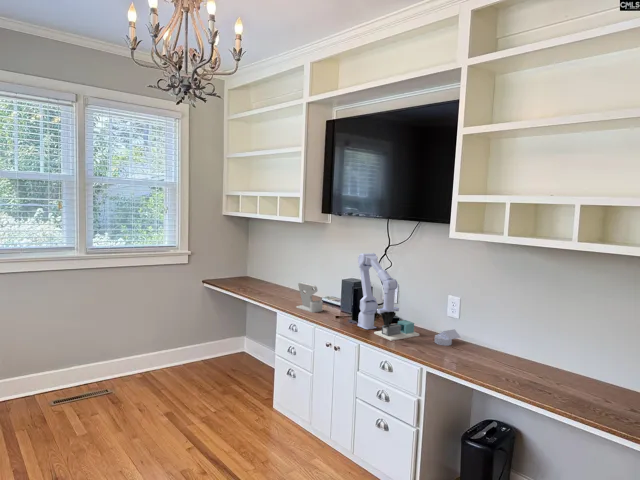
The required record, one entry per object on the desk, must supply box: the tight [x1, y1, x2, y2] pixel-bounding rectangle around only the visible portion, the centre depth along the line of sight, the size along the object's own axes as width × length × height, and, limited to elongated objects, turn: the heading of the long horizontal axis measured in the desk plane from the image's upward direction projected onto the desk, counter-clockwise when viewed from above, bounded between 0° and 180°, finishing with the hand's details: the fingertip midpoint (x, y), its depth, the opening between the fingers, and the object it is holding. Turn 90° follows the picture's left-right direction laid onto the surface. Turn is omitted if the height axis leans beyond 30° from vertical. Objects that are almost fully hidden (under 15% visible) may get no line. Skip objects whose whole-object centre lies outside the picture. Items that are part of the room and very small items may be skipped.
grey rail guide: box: [381, 323, 401, 336], centre depth 250 cm, size 5×10×5 cm, turn 124°
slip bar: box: [383, 321, 389, 334], centre depth 250 cm, size 3×10×7 cm, turn 124°
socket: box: [397, 319, 415, 334], centre depth 257 cm, size 7×6×6 cm
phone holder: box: [295, 281, 324, 313], centre depth 299 cm, size 17×10×18 cm, turn 46°
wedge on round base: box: [434, 328, 461, 347], centre depth 244 cm, size 9×7×13 cm
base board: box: [373, 330, 420, 341], centre depth 253 cm, size 14×22×1 cm, turn 124°
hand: (387, 324), depth 248 cm, fingers closed on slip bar, 2 cm apart
